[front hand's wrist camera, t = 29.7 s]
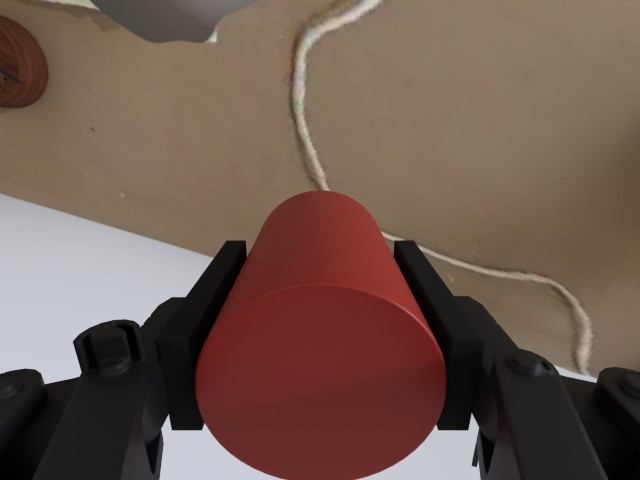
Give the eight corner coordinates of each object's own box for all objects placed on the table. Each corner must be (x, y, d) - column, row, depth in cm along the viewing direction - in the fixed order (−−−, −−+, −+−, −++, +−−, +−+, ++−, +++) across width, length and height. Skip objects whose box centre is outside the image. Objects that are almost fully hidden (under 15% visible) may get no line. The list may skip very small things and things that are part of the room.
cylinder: (232, 242, 17) (139, 381, 8) (330, 163, 15) (344, 227, 7) (311, 325, 18) (304, 515, 10) (406, 259, 17) (495, 412, 8)
